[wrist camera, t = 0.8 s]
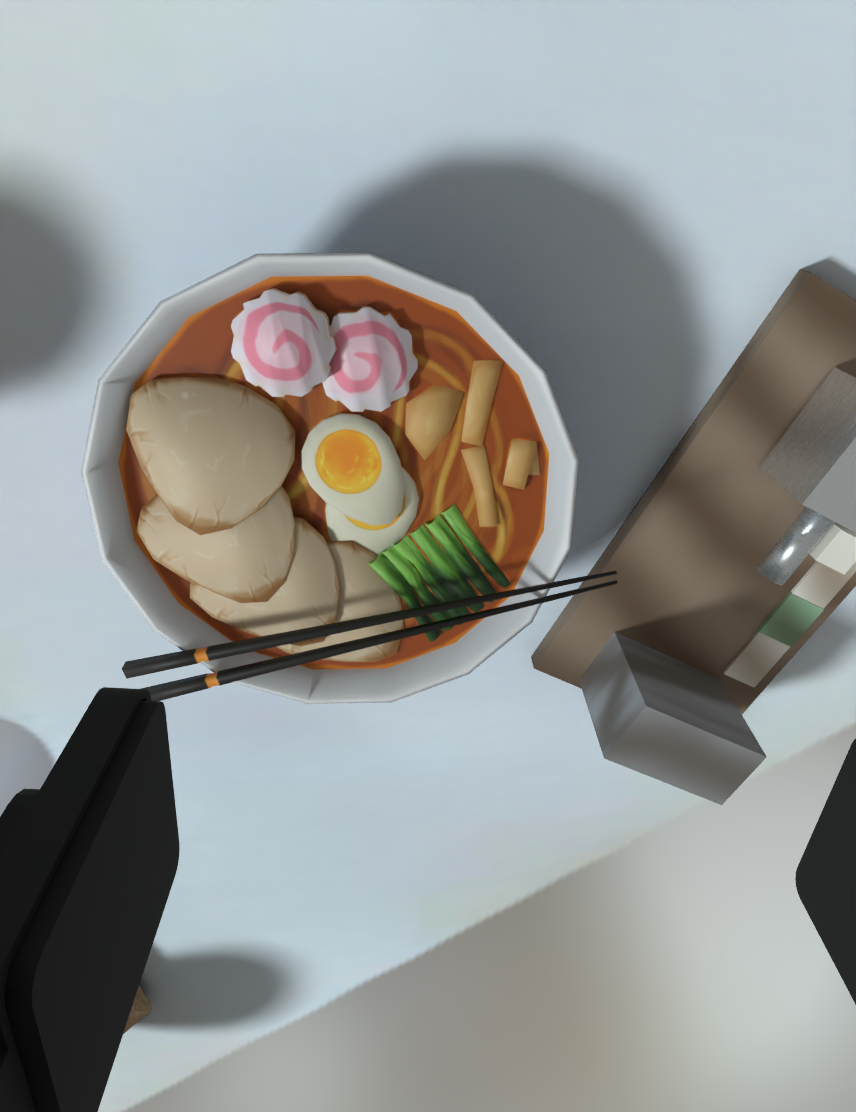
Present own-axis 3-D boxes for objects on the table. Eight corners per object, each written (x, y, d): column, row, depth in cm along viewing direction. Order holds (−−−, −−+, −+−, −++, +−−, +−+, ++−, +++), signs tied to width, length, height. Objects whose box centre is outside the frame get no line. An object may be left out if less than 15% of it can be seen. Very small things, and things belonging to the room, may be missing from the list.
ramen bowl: (541, 175, 35) (574, 179, 28) (595, 588, 46) (629, 669, 39) (40, 294, 37) (-49, 327, 30) (201, 664, 48) (164, 754, 41)
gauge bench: (799, 269, 37) (892, 296, 30) (1002, 394, 41) (1130, 446, 33) (531, 656, 48) (552, 745, 41) (708, 732, 51) (757, 827, 44)
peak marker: (813, 506, 42) (841, 529, 39) (883, 542, 43) (914, 568, 40) (790, 535, 43) (815, 560, 40) (858, 570, 44) (887, 597, 41)
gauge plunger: (834, 367, 38) (890, 394, 34) (922, 418, 40) (986, 451, 35) (709, 533, 43) (743, 577, 38) (792, 575, 44) (834, 621, 40)
